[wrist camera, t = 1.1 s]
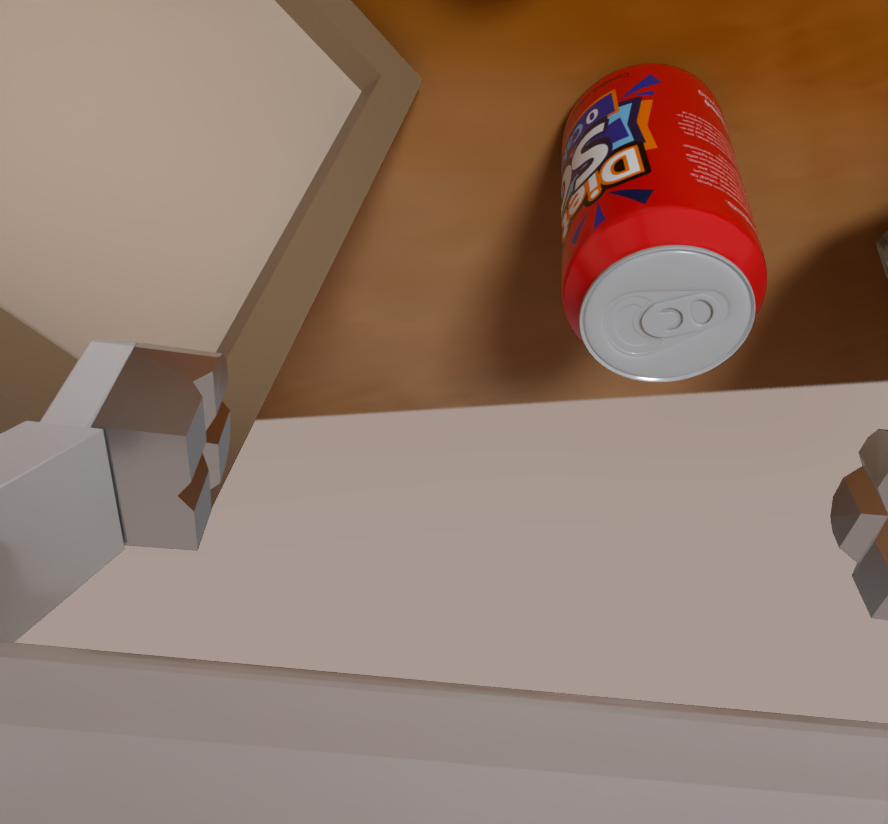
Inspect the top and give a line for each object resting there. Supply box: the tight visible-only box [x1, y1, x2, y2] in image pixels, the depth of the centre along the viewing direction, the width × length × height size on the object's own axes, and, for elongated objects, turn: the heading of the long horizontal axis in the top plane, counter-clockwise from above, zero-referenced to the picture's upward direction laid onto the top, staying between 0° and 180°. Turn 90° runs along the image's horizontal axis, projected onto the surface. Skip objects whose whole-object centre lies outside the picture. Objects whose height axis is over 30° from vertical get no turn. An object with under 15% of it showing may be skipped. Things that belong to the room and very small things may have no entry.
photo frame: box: [0, 0, 423, 508], centre depth 31 cm, size 15×22×25 cm
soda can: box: [561, 64, 767, 382], centre depth 36 cm, size 8×8×15 cm
